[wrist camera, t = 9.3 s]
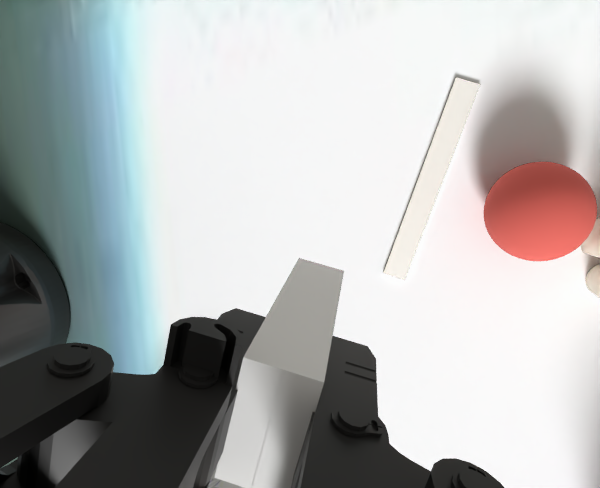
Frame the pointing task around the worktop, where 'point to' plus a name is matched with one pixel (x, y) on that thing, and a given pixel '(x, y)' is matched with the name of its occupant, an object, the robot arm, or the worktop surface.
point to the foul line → (431, 176)
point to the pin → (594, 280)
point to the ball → (540, 211)
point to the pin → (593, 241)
